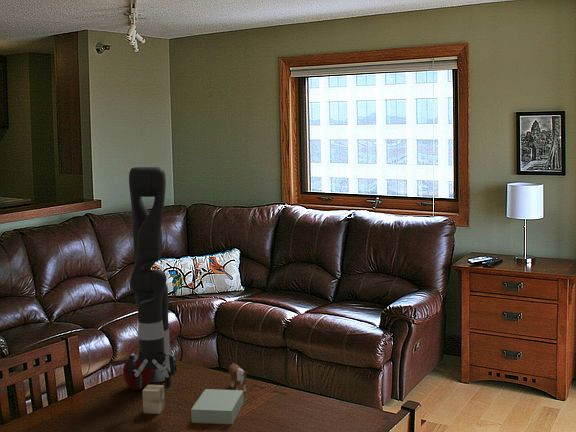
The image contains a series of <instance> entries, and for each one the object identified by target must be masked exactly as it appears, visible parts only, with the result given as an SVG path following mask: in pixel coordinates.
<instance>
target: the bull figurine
mask: <svg viewBox="0 0 576 432" xmlns="http://www.w3.org/2000/svg"><path fill="white" fill-rule="evenodd" d="M228 374H229V379H230V381H231V384H230V387H231V388H234V387H235V386H236V388H235V390H239V386H242V387H243V388H242V389H243V393H247V389H246V381H247V374H248V372H247V371H245V370H244V369H243V368H242V367H240V366H239V365H238V364H236V363H233V362H232V364H230V365H229V367H228ZM234 383H235V385H234Z"/></svg>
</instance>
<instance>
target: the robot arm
mask: <svg viewBox="0 0 576 432" xmlns="http://www.w3.org/2000/svg"><path fill="white" fill-rule="evenodd" d="M128 173H129V174H128V184H129V185H128V186H129V187H128V188H129V194H130V196H129V197H130V205H131V211H132V212H131V213H132V245H133V246H132V247H133V257H134V266H133V270H132V273H131V276H130V279H129V287H130V289H131V292H133V294H134V298H135V300H134V301H135V305H136V308H137V320H138V321H137V322H138V325H137V338H138V339H137V341H138V351H139V352H138V354H136V353H135V352H132V353H131V354H130V355H129V357H128V360H129V374H130V375H134V376H135V378H136V386H137V387H138V389H141V388H142V375H141V373H142V371H143V370H144V368H146V369H153V374H152V378H151V381H150V383H160V382H164V390H169V388H170V387H171V385H172V376H175V374H176V373H178V368H177V360H176V354H175V353H171V346H170V344H171V342H170V328H169V327H170V324H169V322H170V321H169V288H168V285H167V275H166V273H165V271H163V269H157V268H156V269H152V267H154V265H155V264H156V263H157V262H159V261H160V259H161V254H162V252H163V232H162V224H163V215H164V210H165V209H164V208H165V200H166V199H165V198H166V185H167V182H166V179H167V178H166V173H165V170H164V168H163V167H161V166H160V167H159V166H157V167H156V166H136V167H135V166H134V167H132V168H130V171H129V172H128ZM143 197H144V198H151V197H152V198H153V197H154V201H153V204H152V207H151V209H150V211H148V209H147V207H146V206H145V204H144V202H143ZM137 359H138V360H139V361H140V362H141V366H140V367H139V368H138V370H135V361H137Z"/></svg>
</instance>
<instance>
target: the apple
mask: <svg viewBox="0 0 576 432" xmlns="http://www.w3.org/2000/svg"><path fill="white" fill-rule="evenodd" d="M140 366H141V362H140V361H139V360H138V359H137V361H135V370H138V368H139V367H140ZM122 374H123V378H124V381H125V384H126V385H127V386H128V387H129V388H130V389H131V390H132V391H141V390H142V391H143V390H144V388H145V387H146V386H147V385H150V383H151V382H150V381H151V378H152V374H153V369H146V368H144V370H143V371H142V373H141V375H142V388H141V389H138V387H137V386H136V378H135V376H134V375H130V374H129V359H128V360H127V361H125V363H124V365H123V370H122Z"/></svg>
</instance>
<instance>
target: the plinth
mask: <svg viewBox="0 0 576 432" xmlns="http://www.w3.org/2000/svg"><path fill="white" fill-rule="evenodd" d="M244 401H245V400H244V392H243V390H242V389H240V390H239V389H238V390H236V389H217V388H216V389H212V388H211V389H210V388H206V389H204V391H203V392H202V393H201V395H200V396H199V398H198V399H197V400H196V402H194V404H193V406H192V407H191V409H190V411H191V412H190V413H191V415H190V416H191V423H193V424H196V423H197V424H218V425H221V424H222V425H223V424H224V425H233V423H234V422H235V420H236V418H237V416H238V414H239V413H240V411H241V409H242V407H243V405H244V403H245V402H244Z"/></svg>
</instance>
